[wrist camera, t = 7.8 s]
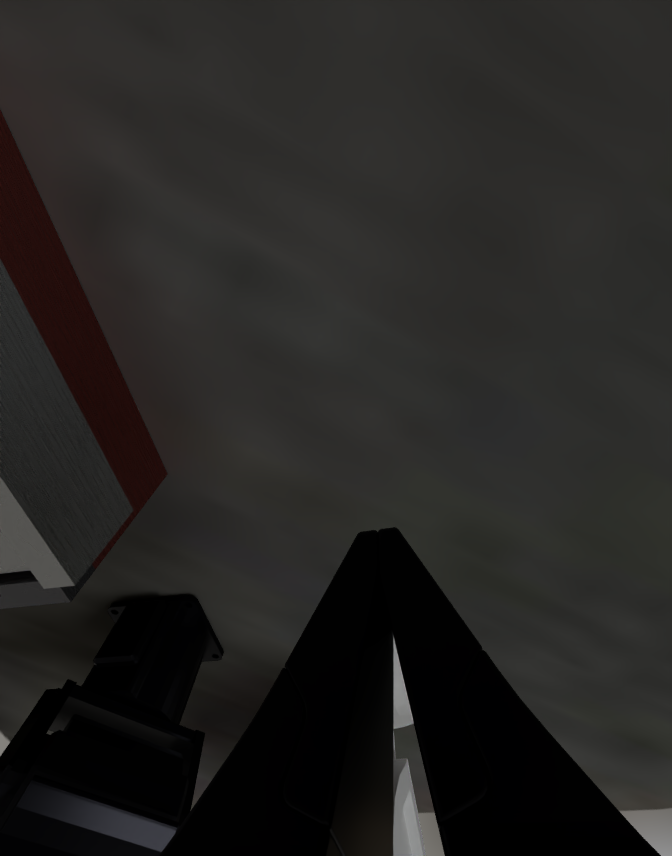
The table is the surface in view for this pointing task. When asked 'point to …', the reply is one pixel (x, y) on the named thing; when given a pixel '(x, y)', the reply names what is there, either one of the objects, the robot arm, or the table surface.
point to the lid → (48, 461)
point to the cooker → (69, 357)
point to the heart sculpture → (403, 780)
